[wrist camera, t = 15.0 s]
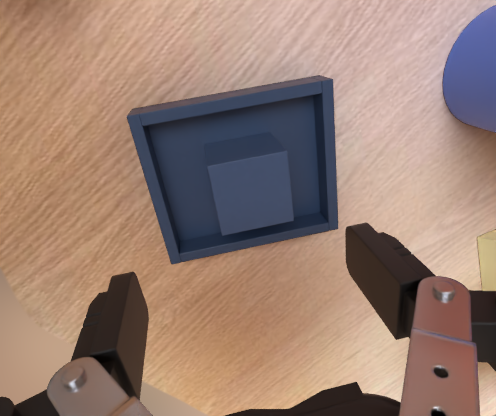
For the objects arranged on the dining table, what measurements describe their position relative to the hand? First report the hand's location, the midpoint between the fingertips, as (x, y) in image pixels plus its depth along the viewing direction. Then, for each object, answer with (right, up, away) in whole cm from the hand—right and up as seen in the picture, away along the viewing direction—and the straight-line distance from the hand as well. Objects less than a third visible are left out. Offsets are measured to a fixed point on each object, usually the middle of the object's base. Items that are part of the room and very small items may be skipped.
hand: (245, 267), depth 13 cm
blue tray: (0, +5, +14) cm, 15 cm away
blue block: (0, +5, +14) cm, 15 cm away
